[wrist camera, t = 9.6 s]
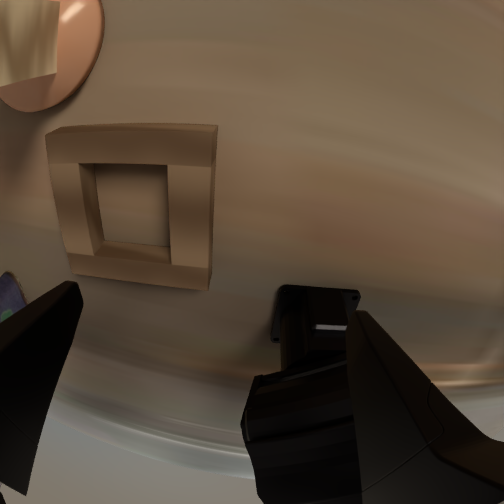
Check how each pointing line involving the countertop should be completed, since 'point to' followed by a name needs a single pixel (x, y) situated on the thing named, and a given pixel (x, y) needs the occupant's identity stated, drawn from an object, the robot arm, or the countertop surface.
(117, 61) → the countertop surface
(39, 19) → the maple block
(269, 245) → the countertop surface
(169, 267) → the pocket board
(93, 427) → the countertop surface
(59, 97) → the terracotta plate
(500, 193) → the countertop surface
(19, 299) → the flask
